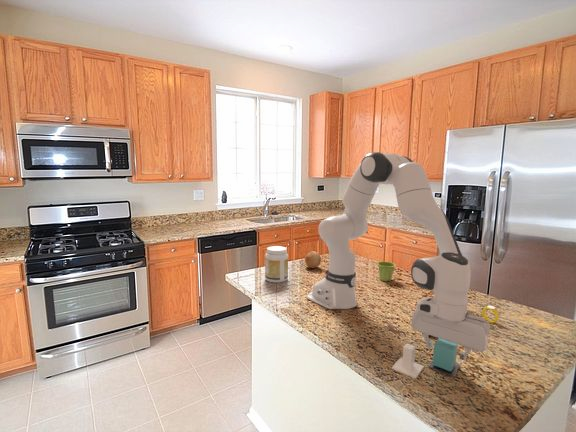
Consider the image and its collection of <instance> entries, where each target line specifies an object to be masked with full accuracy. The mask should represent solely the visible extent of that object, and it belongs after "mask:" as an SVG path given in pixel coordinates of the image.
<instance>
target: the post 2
mask: <svg viewBox="0 0 576 432" xmlns="http://www.w3.org/2000/svg"><path fill="white" fill-rule="evenodd" d="M432 363H433V359H432V360H431V361H430V364H429V365H428V369H430V370H433V371H436V372H438V373H441V374H443V375H447V376H449V377H451V378H455V376H456V374H457V373H458V371H459V368H460V367H461V365H460V364H458V363H456V364H455V366H454V368H453V370H452V371H448V370H445V369H443V368H440V367H438V366H435V365H432Z"/></svg>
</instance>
